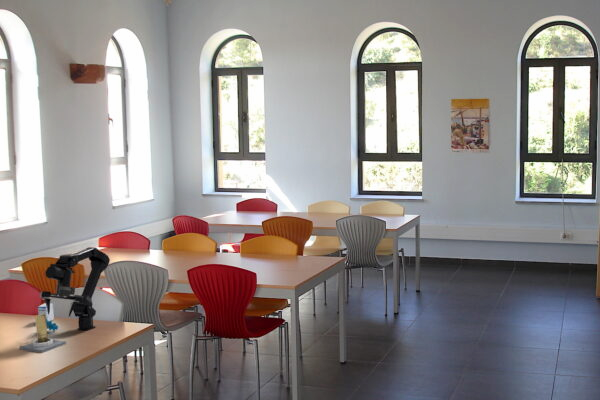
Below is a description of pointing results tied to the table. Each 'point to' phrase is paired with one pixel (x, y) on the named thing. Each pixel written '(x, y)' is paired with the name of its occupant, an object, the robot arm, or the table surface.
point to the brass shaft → (41, 328)
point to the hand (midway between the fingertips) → (58, 315)
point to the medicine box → (43, 310)
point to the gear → (51, 325)
